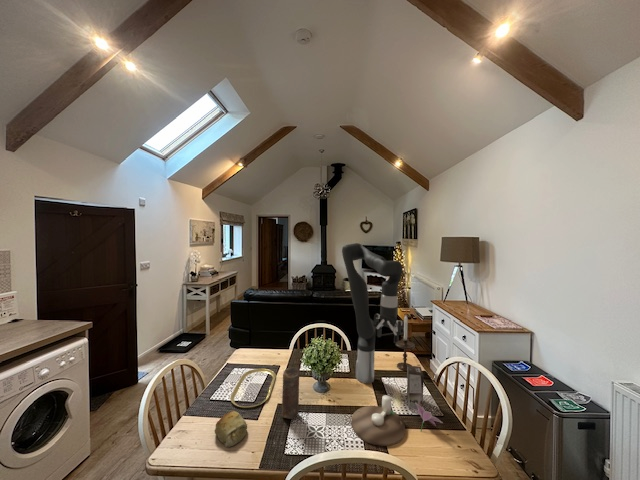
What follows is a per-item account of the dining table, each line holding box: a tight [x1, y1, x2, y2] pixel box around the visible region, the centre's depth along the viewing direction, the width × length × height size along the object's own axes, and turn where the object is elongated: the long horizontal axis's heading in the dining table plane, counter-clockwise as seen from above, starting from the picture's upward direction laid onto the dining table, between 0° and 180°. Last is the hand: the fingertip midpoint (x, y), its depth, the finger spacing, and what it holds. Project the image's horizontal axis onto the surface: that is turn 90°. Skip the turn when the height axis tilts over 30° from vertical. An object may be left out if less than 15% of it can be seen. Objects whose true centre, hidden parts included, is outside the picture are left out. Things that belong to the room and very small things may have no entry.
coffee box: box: [406, 365, 425, 410], centre depth 134 cm, size 9×6×16 cm
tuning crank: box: [372, 394, 392, 426], centre depth 121 cm, size 12×5×6 cm, turn 140°
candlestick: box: [395, 309, 416, 372], centre depth 168 cm, size 11×11×35 cm
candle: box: [281, 367, 300, 420], centre depth 124 cm, size 8×7×20 cm
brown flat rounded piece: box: [350, 405, 406, 447], centre depth 118 cm, size 22×22×2 cm
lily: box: [411, 403, 444, 432], centre depth 118 cm, size 12×12×10 cm
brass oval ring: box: [230, 368, 276, 409], centre depth 146 cm, size 19×35×2 cm, turn 179°
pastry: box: [214, 410, 248, 448], centre depth 112 cm, size 14×12×8 cm
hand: (387, 339), depth 128 cm, fingers open, 8 cm apart
